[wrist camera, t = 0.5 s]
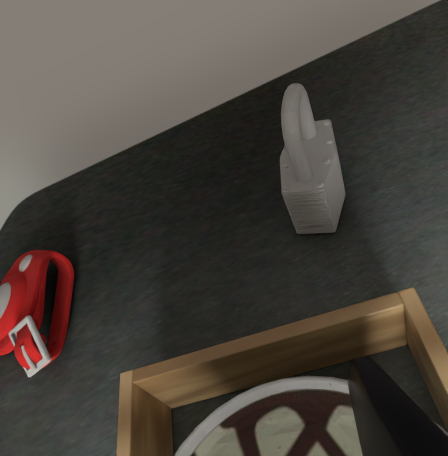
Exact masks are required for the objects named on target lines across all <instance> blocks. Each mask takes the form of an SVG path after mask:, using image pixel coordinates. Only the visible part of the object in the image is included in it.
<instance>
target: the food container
mask: <svg viewBox="0 0 448 456" xmlns="http://www.w3.org/2000/svg"><path fill="white" fill-rule="evenodd" d="M433 422H434V421H433ZM434 423H435V422H434ZM435 424H436V425H437V426H438V427H439V428H440V429H441V430H442V431H443V432H444V433H445V434H446V435H447V436H448V432H446V431H445V430H444V429H443V428H442V427H441V426H439V425H438V424H437V423H435ZM174 456H363V455H362V450H361V446H360V441H359V437H358V432H357V427H356V422H355V418H354V413H353V408H352V404H351V399H350V394H349V389H348V380H345V379H340V378H335V377H322V376H301V377H292V378H283V379H280V380H276V381H272V382H268V383H265V384H261V385H259V386H257V387H254V388H252V389H250V390H248V391H245V392H243V393H241V394H239V395H237V396H236V397H234V398H232V399H231V400H229V401H228V402H226V403H225V404H223V405H222V406H220V407H219V408H217V409H216V410H215V411H214V412H212V413H211V414H210V415H209V416H208V417H207V418H206V419H205V420H203V421H202V422H201V423H200V424H199V425H198V426H197V427H196V428H195V429H194V430H193V432H192V433H191V434H190V435H189V436H188V437H187V439H186V440H185V441H184V442H183V443H182V445H181V446H180V447H179V449H178V450H177V452H176V453H175V455H174Z"/></svg>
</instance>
